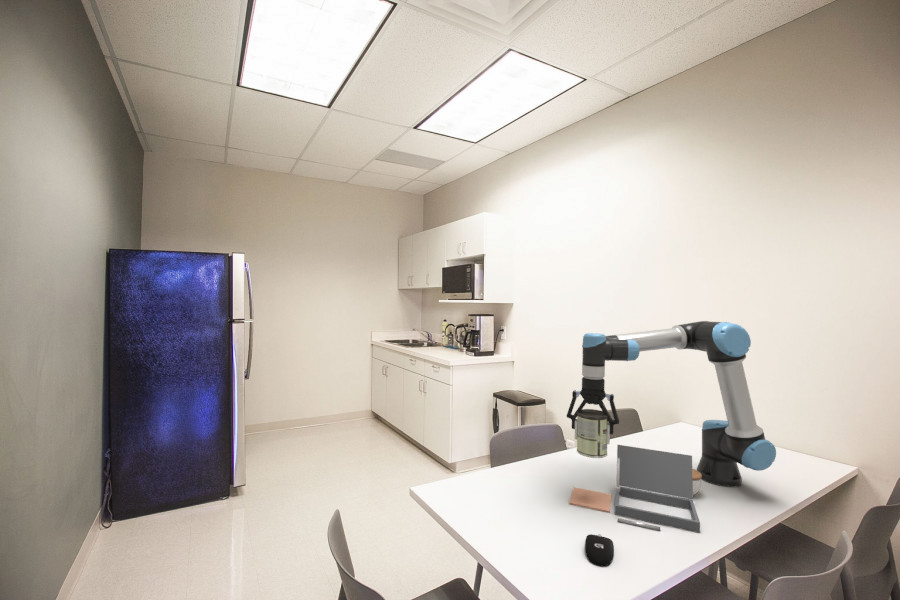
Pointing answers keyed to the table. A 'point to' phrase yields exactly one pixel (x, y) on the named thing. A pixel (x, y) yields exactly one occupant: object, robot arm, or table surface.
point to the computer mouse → (599, 550)
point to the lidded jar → (696, 481)
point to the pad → (591, 499)
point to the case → (655, 485)
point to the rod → (638, 524)
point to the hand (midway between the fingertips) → (592, 440)
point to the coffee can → (592, 433)
